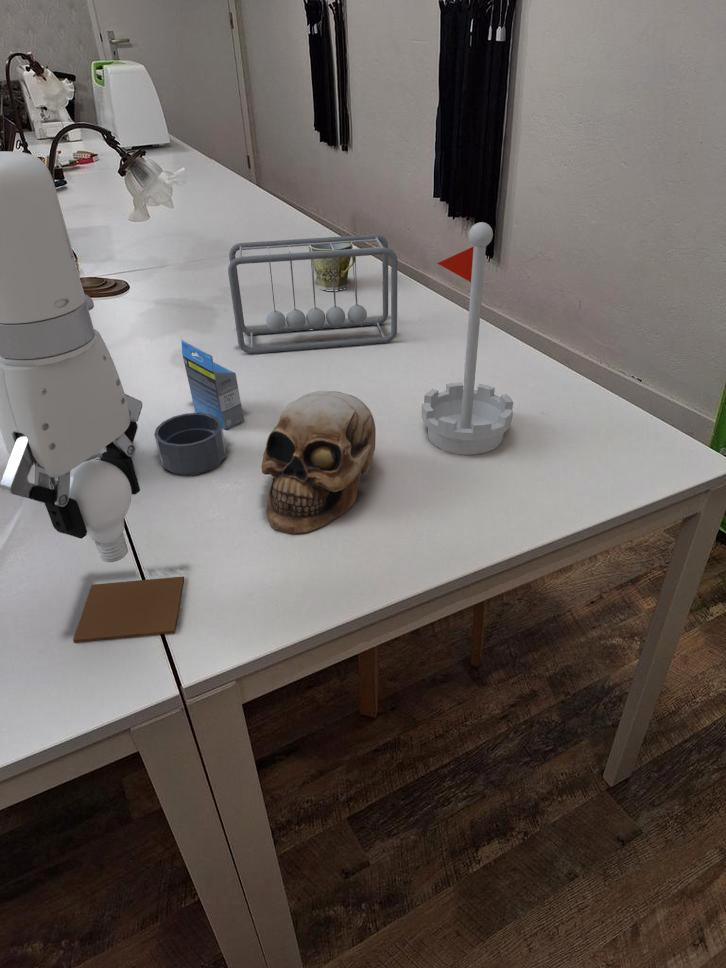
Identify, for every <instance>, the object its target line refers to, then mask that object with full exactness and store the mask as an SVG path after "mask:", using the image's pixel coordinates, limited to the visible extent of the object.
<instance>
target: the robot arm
mask: <svg viewBox="0 0 726 968" xmlns="http://www.w3.org/2000/svg"><path fill="white" fill-rule="evenodd" d="M43 161H44V160H42V159H41V158H39V157H38V156H36V155H34V154H31V153H27V152H24V151H23V152H22V151H9V150H8V151H6V150H5V151H4V150H3V151H0V433H1V436H2V439H3V443H4V445H5V448H6V451H7V454H8V456H9V458H8V461H7V464H6V467H5V469H4V472H3V475H2V477H1V480H0V491H1V492H3V493H8V494H11V495H13V496H17V497H21V498H25V499H29V500H33V501H36V502H41V503H43V504H44V506H45V509H46V511H47V514H48V516H49V519H50V521H51V524H52V527H53V528H54V529H55V531H56V532H58V533H60V534H63V535H68V536H70V537H75V538H77V539H81V540H82V539H84V538H85V537H86V536H87V535H88V533H87V529H86V526H85V523H84V521H83V518H82V515H81V512H80V509H79V506H78V503H77V501H76V500H74V499H71V498H69V489H70V471H71V470H72V469H74V468H75V467H77V466H78V465H80V464H81V463H83V462H84V461H85V460H87V459H88V458H90V457H91V456H93V455H94V454H96V453H97V452H98V451H100V450H101V449H103V448H104V449H105V450H106V451H107V452H104V453H102V458H101V461H105V462H109V463H111V464H113V465H115V466H116V467H118V468H119V469H120V470H121V471H122V472H123V473H124V474H125V475H126V477H127V478H128V480H129V482H130V485H131V490H132V496H136V495H138V493H140V491H141V488H140V484H139V480H138V477H137V473H136V469H135V466H134V463H133V459H132V457H131V456H133V455H135V452H136V447H135V444H134V441H135V438H136V436H137V435H136V434H137V432H138V422H139V420H140V416H141V413H142V409H143V401H142V400H139V399H138V398H135V397H133V396H131V395H129V394H126V393H125V390H124V387H123V384H122V381H121V378H120V375H119V373H118V369H117V367H116V365H115V362H114V360H113V358H112V356H111V353H110V351H109V349H108V347H107V345H106V342H105V341H104V339H103V337H102V335H101V333H100V332H99V331H98V330H97V329H95V328H94V325H93V321H92V317H91V313H90V311H92V310H93V309H94V307H95V303H94V300H93V299H92V297H90V296H89V295H88V294H85V291H84V287H83V284H82V280H81V276H80V272H79V270H78V266H77V262H76V257H75V255H74V251H73V247H72V243H71V240H70V236H69V232H68V229H67V226H66V222H65V219H64V214H63V210H62V208H61V204H60V200H59V197H58V193H57V189H56V185H55V182H54V179H53V176H52V174H51V171H50V169H49V168H48V166H47V165H46V164H45V162H43ZM33 465H34V480H33V482H34V483H31V482H29V475H30V472H31V470H32V467H33ZM50 477H54V484H53V488H51V481H50Z"/></svg>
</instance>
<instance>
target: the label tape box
mask: <svg viewBox="0 0 726 968" xmlns="http://www.w3.org/2000/svg"><path fill="white" fill-rule="evenodd" d="M180 342H181V355H182V359H183V363H184V368H185V373H186V376H187V381H188V386H189V390H190V395H191V399H192V404H193V408H194V412H195V413H204V414H210V415H212V416H215V417H217V418H218V419H219V421H220V422H221V423H222V429H224V430H228V429H230V428H232V427H235V426H237V425H239V424H241V423H242V422H244V421H245V417H244V411H243V407H242V401H241V396H240V390H239V385H238V379H237V374H236V372H234V371H232V370H230V369H228V368H226V367H224V366H223V365H220V364H218V363H216V362H214V359H213V355H212V354H209V353H207V352H205V351H204V350H202V349H200V348H199V347H196V346H194V345H193V344H191V343H189V342H187V341H186V340H183V339H182V338H181V341H180ZM193 354H194V355H193Z"/></svg>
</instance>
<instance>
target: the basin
mask: <svg viewBox="0 0 726 968" xmlns="http://www.w3.org/2000/svg"><path fill="white" fill-rule="evenodd" d="M223 429H224V428H223V427H222V423H221V422H220V421H219V419H218V418H217V417H215V416H212V415H210V414H204V413H197V412H189V413H187V412H186V413H181V414H178V415H175V416H172V417H169V418H167V419H166V420H164V421H161V423H160V424H159V425H157V426H156V427H155V430H154V433H153V437H154V440H155V445H156V449H157V452H158V457H159V460H160V463H161V465H162V467H163V468H164V469H165V470H167V471H169V472H171V473H173V474H176V475H179V476H180V475H181V476H194V475H200V474H204V473H207V472H209V471H212V470H213V469H216V468H217V466H219V465H220V464H221V463H222V462H223V460H224V459H225V458H226V454H227V448H226V441H225V436H224V430H223Z"/></svg>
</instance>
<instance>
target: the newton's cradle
mask: <svg viewBox="0 0 726 968" xmlns="http://www.w3.org/2000/svg"><path fill="white" fill-rule="evenodd" d="M370 242H371V243H372V242H377V244H378V245H379V246H378V247H363V248H361V247H360V248H355V246H354V244H356V243H357V244H359V243H370ZM342 243H351V249H346V250H332V249H333V248H332V249H331V251H316V252H311V251H312V249H311V246H312V245H327V244H330V246H332V245H331V244H342ZM352 243H353V244H352ZM352 245H353V247H352ZM309 246H310V251H303V252H302V251H301V252H300V251H299V252H291V248H294V247H295V248H296V247H309ZM279 248H281V249H282V248H288V253H287V252H286V253H273V254H270V249H279ZM265 249H267V253H268V254H257V255H256V254H255V255H243V256H242V253H243V252H242V251H245V250H246V251H247V250H248V251H249V250H265ZM237 252H238V253H239V254H238V255H239V256H238V257H236V253H237ZM353 256H355V263H354V264H353V266H352V272H353V273H352V274H353V283H354V284H353V286H354V297H355V304H354V305H352V306H350V307H349V309H348V311H347V319H348V321H346V312H345V310H344V309H343V308H342V307H340V306H337V304H336V303H337V302H336V300H337V299H336V292H335V264H334V279H333V291H334V292H333V306H331V307H329V308H328V309H327V311H326V313H325V312H324V310H322V309H321V308H319V307H317V305H316V288H315V286H316V285H315V270H314V266H313V259H324V258H331V261H332V258H333V260H334V258H339V257H351V260H352V262H353ZM366 256H382V258H381V261H382V315H381V316H380V317H379V318H375V319H367V317H368V312H367V309H366V308H365V306H363V305H361V304H358V286H357V284H358V283H357V281H356V278H357V259H356V258H357V257H366ZM389 257H390V260H391V261H390V262H391V263H390V270H391V271H390V276H391V277H390V297H391V298H390V314H391V315H390V316H391V317H390V319H391V320H390V330H391V331H390V333H389V334H388V335H387V336H385V334H384V331H383V330H382V327H381V326H380V325H382V324H384V323H385V322H386V321H387V319H388V317H389ZM228 259H229V264H228V267H227V274H228V280H229V281H228V282H229V287H230V295H231V296H230V297H231V302H232V309H233V316H234V324H235V330H236V338H237V344H238V347H239V348H240V350H241V351H243V352H244V353H246V354H250V355H254V354H256V355H257V354H266V353H279V352H290V351H304V350H303V349H305V350H315V348H317V349H327V348H326V347H329V348H339V347H338V346H342V347H352V346H351V345H354V346H364V345H363V344H366V345H377V344H376V343H378V344H386V343H390V342H392V341H393V340H394V339H395V338H396V336H397V333H398V266H399V265H398V263H399V262H398V260H399V259H398V256H397V253H396V252H395V251H394V250H393V249H391V248H389V242H388V241H387V238H386V237H384V236H383V235H381V234H376V233H373V234H359V235H358V234H357V235H344V236H343V235H341V236H328V237H327V236H325V237H312V238H295V239H280V240H265V241H264V240H263V241H249V242H248V241H247V242H239V243H235V244H233V245H232V247H230V250H229V252H228ZM306 260H310V268H311V279H312V292H313V304H314V307H313V308H310V309H309V310H308V311H307V313H306V314H305V313H304V312H303V311H301V310H300V309H297V308H296V298H295V296H296V295H295V283H294V273H293V272H294V271H293V261H306ZM276 262H277V263H278V262H289V263H290V275H291V286H292V296H293V297H292V298H293V307H294V308H293V309H291V310H290V311H288V313H287V314H286V316H285V314H283V313H282V312H281V311H279V310H276V304H275V295H274V286H273V284H274V283H273V276H272V267H271V266H272V265H271V263H276ZM352 262H351V263H352ZM262 263H263V264H264V263H269V273H270V283H271V292H272V301H273V310H272V311H270V312H269V313H268V314H267V315H266V318H265V323H266V326H267V327H263V328H248V327H247V326H246V325H245V319H244V318H245V317H244V312H243V311H244V310H243V304H242V295H241V290H240V288H241V287H240V281H239V275H238V274H239V273H238V266H239V265H247V264H262ZM332 276H333V264H332ZM306 323H307V324H306ZM286 324H287V326H286ZM374 324H377V325H376V326H377V328H378V330H379V332H380V334H381V336H380V337H378V336H377V337H370V338H369V337H368V338H354V339H343V340H332V341H331V340H330V341H317V342H305V343H294V344H291V343H290V344H281V345H267V346H254V336H255V335H270V334H280V333H292V332H293V331H296V332H302V331H301V330H308V331H311V330H310V329H321V330H324V329H323V328H334V329H337V328H336V327H346V328H351V327H350V326H359V327H362V326H361V325H372V326H375V325H374ZM379 324H380V325H379ZM293 333H294V332H293ZM244 334H246V335H248V336H250V347H249V346H247V345H246V343H245V337H244Z"/></svg>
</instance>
